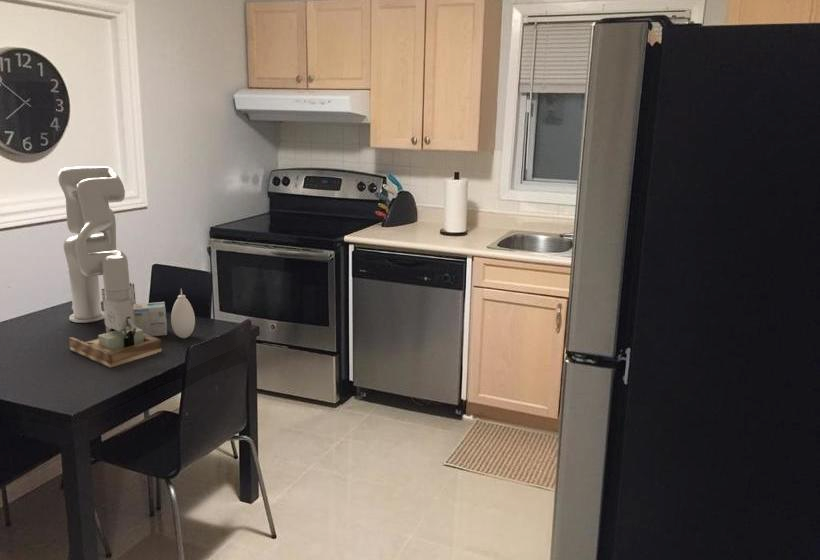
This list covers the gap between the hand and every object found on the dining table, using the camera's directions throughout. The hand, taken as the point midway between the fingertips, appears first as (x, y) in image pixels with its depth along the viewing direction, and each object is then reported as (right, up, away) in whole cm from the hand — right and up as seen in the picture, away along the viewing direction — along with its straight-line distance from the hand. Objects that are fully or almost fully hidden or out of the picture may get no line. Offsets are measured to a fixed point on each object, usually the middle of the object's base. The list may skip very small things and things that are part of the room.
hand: (122, 345), depth 213 cm
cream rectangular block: (0, -1, 0) cm, 2 cm away
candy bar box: (-10, +3, +23) cm, 26 cm away
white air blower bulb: (+14, +1, +17) cm, 22 cm away
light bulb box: (+2, +2, +20) cm, 20 cm away
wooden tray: (-3, -2, +3) cm, 5 cm away
